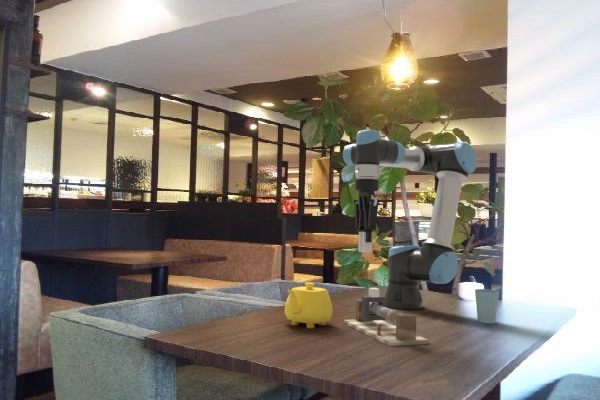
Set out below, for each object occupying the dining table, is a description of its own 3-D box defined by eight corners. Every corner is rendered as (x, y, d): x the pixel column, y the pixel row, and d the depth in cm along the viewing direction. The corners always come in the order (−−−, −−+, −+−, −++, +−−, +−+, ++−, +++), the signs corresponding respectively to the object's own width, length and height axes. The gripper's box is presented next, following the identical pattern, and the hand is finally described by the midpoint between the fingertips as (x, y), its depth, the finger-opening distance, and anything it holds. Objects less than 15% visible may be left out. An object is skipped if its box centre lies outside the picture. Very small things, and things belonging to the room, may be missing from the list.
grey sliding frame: (361, 319, 160) (362, 288, 160) (381, 318, 162) (382, 287, 162) (364, 320, 158) (365, 289, 158) (385, 320, 160) (386, 288, 160)
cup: (503, 323, 173) (504, 291, 173) (486, 324, 170) (486, 292, 170) (487, 319, 180) (487, 288, 180) (469, 320, 177) (470, 289, 177)
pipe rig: (344, 323, 165) (344, 299, 165) (377, 321, 169) (378, 298, 170) (389, 346, 138) (390, 317, 138) (428, 343, 142) (429, 315, 142)
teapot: (341, 323, 165) (343, 283, 165) (304, 334, 149) (305, 289, 149) (306, 317, 173) (307, 278, 173) (267, 326, 157) (269, 283, 157)
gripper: (346, 179, 173) (344, 250, 173) (367, 176, 159) (365, 254, 159) (366, 180, 176) (364, 250, 175) (389, 178, 162) (386, 254, 161)
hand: (364, 252), depth 167 cm, fingers open, 2 cm apart
